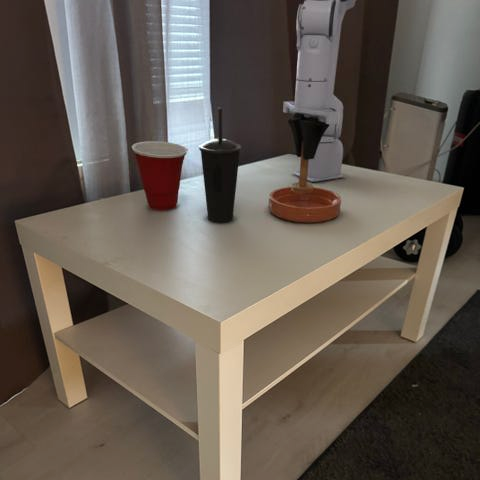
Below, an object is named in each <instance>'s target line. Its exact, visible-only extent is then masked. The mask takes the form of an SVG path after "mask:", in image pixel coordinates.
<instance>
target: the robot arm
mask: <svg viewBox="0 0 480 480" xmlns="http://www.w3.org/2000/svg"><path fill="white" fill-rule="evenodd" d="M356 2H357V0H304V1H303V3H300V4H299V5H298V8H297V15H296V38H297V39H296V51H298V52H297V63H296V64H297V65H296V75H295V76H296V77H295V78H296V80H295V92H294V93H295V94H294V101H293V100H290V101H289V100H288V101H283V109H282V112H283V113H285V114H292V115H294V116H293V117H289V118H287V123H288V125H289V127H290V130H291V132H292V137H293V140H294V147H295V152H296V157H297V158H301V149H302V141H303V159H305V160H309V164H308V175H307V182H311V183H317V182H323V181H329V180H336V179H342V178H343V175H342V174H341V173H342V167H343V159H344V158H343V157H344V146H343V143H342V141H341V140H340V139H339V138H340V137H341V134H342V129H343V119H344V105H343V102H342V101H341V100H340V99H339V98H338V97H337V96H335V94H334V92H335V84H336V83H335V82H336V75H337V74H336V73H337V65H338V56H339V48H340V39H341V31H342V24H343V20H344V17H345V15H346V12H347V11H348V10H350V9H352V8H355V3H356ZM299 173H300V171H295V172H293V175H295V176H297V177H299Z"/></svg>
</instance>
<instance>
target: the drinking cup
mask: <svg viewBox="0 0 480 480" xmlns="http://www.w3.org/2000/svg"><path fill="white" fill-rule="evenodd" d="M217 120H218V121H217V122H218V125H217V126H218V128H217V130H218V131H217V133H218V135H217V138H213V139H210V140H207V141H205V142H204V143H201V144H200V145H199V146H198V150H199V151H200V155H201V156H200V157H201V165H202V167H201V168H202V174H203V175H202V176H203V183H204V184H203V185H204V194H205V201H206V202H205V203H206V212H207V220H208V221H209V222H211V223H214V224H226V223H230V222H232V221H233V220H234V212H235V211H234V210H235V200H236V192H237V182H238V172H239V164H240V154H241V153H240V152H241V151H242V145H241V144H239V143H236V142H235V141H233V140H230V139H226V138H223V108H222V107H218V108H217Z"/></svg>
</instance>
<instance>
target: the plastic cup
mask: <svg viewBox="0 0 480 480" xmlns="http://www.w3.org/2000/svg"><path fill="white" fill-rule="evenodd" d="M131 150H132V151H133V153H134V157H135V160H136V164H137V167H138V171H139V176H140V179H141V184H142V187H143V191H144V194H145V198H146V202H147V204H148V207H149V208H150V209H152V210H155V211H169V210H173V209H175V208H176V207H177V205H178V202H179V201H178V199H179V191H180V187H181V180H182V179H181V178H182V171H183V165H184V161H185V157H186V155H187V154H188V148H187V147H186V146H184V145H181V144H179V143H173V142H168V141H159V140H157V141H156V140H155V141H154V140H153V141H152V140H151V141H140V142H136V143H133V144H132V145H131Z"/></svg>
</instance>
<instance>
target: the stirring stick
mask: <svg viewBox="0 0 480 480" xmlns="http://www.w3.org/2000/svg"><path fill="white" fill-rule="evenodd" d="M308 164H309V160H305V159H303V141H302V149H301V157H300V161H299V172H300V173H299V176H298V182H294V183H292V184H291V185H290V187H291V190H292V191H293V192H295V193H301V194H307V193H311V192H313V187H314V185H313V184H312V183H309V182H308V180H307V175H308Z"/></svg>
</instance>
